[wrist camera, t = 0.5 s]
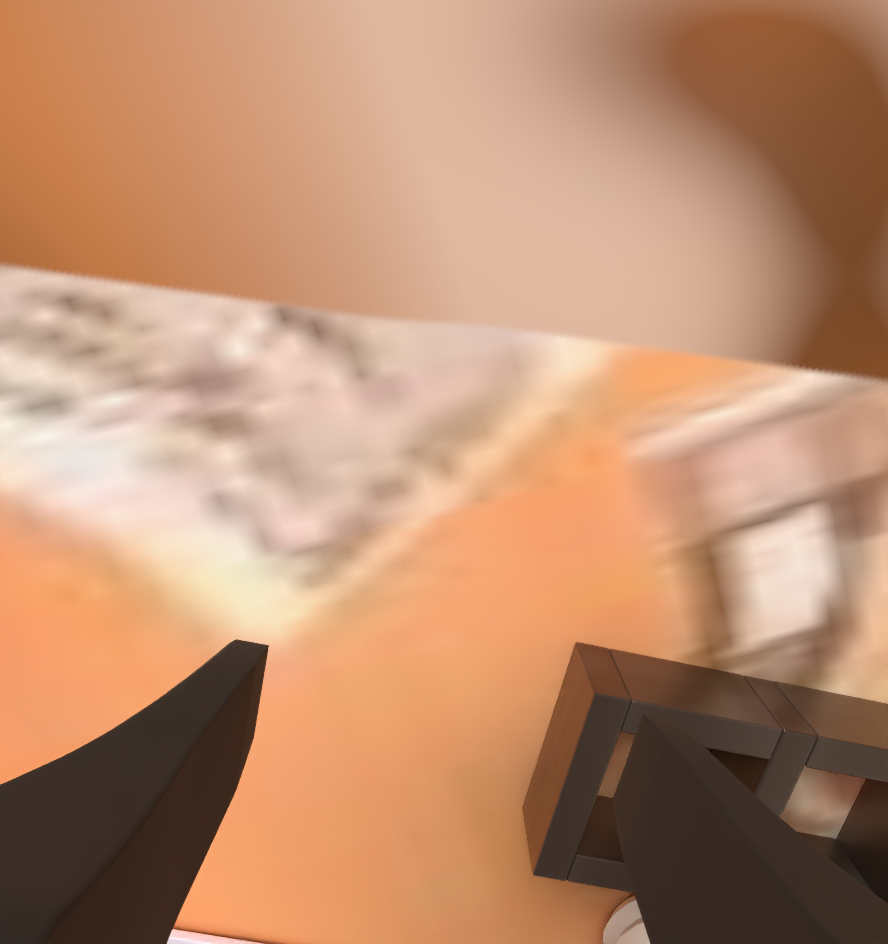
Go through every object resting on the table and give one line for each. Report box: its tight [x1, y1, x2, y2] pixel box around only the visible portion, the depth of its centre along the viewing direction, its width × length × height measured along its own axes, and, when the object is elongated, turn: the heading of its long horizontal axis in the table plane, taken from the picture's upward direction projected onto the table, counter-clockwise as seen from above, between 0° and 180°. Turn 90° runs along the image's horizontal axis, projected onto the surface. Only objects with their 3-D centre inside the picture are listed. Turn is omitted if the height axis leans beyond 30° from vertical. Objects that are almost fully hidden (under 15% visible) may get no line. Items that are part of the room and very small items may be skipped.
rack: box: [523, 642, 888, 903], centre depth 24 cm, size 14×7×3 cm, turn 77°
